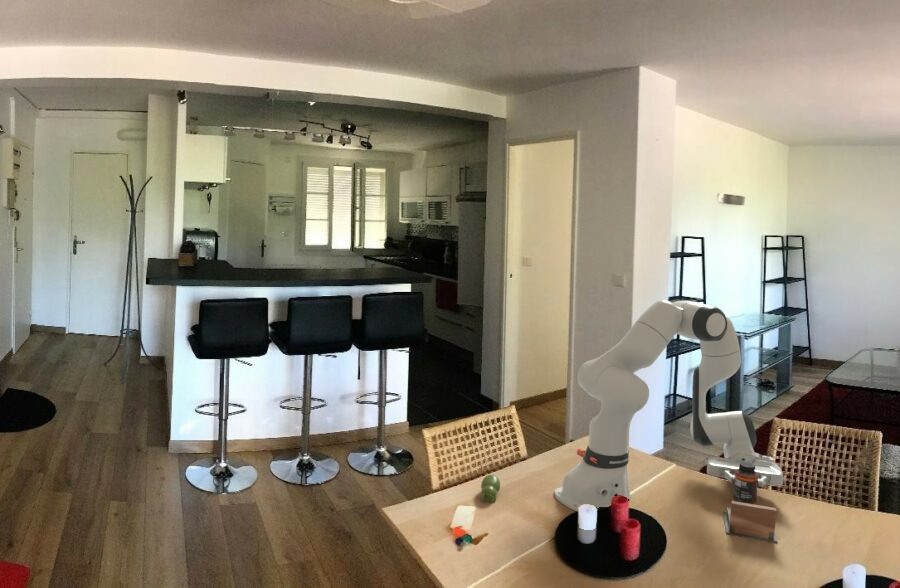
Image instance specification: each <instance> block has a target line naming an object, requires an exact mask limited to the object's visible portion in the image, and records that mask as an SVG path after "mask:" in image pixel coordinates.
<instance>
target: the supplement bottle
mask: <svg viewBox="0 0 900 588" xmlns="http://www.w3.org/2000/svg"><path fill="white" fill-rule="evenodd" d="M739 467H740V468H738V469H737V470H736V472H735V483H734V485H733V501H735V502H741V503H747V504H754V505H756V503H757V495H758V487H757V485H758V474H757V472H755V465H754V464H753V463H751V462H745V461H744V462H740V466H739Z"/></svg>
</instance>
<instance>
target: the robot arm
mask: <svg viewBox="0 0 900 588" xmlns="http://www.w3.org/2000/svg"><path fill="white" fill-rule="evenodd" d="M675 335H679V336H682V337H684V338H687V339H691V340H698V341H699V347H700V352H701V353H700V354H701V360H700V363H699V365H698V366H697V367H696V368H694V369H693V373H692V374H693V375H692V388H691V389H692V391H691V392H692V397H691V402H692V403H691V405H692V407H691V410H692V411H691V415H692V416H691V421H690V434H691V437H692V440H693V441H694V442H696V443H697V444H698V445H700V446H702V447H711V446H715V445H723V457H721V456H720V457H718V456H711V457H709V458H705V459H704V463H705V465H706V466H707V467H706V474H707V475H708V476H710V477H714V478H715V477H717V478H723V479H726V480H727V481H728V482H729V483H730V484H731V483H732V484H733V483H735V472H736V470H737V469H738V468H740V467H739V466H740V462H744V461H745V462H751V463H753V464H754V465H755V472H757V474H758V485H757V488H764V486H766V485H768V486H774V487H782V486H783V485H784V484H783V483H784V473H783V471H782V469H781V467H780V466H779V465H778V464H777V463H775V459H774V457H771V456H767V455H765V454H764V455H763V454H760V453H757V452H755V450H754V447H755V446H756V443H757V433H756V432H757V431H756V429H755V426H754V423H753V421H752V418H751V416H750V415H749V414H748V413H746V412H745V411H743V410H735V411H734V410H733V411H726V412H725V411H724V412H716V413H715V412H714V413H707V411H706V406H707V405H706V404H707V402H706V399H707V398H706V397H707V393H708V391H709V390H710V389H711V388H712V387H714V386H715V385H717V384H719V383H721V382H723V381H726V380H727V379H729V378H731V377H732V376H734V374H736V373H737V371H739V369H740V366H741V365H742V355H741V347H740V343H739V337H738V335H737V332H736V328H735V327H734V324H733V322H732V320H731V319H730V318H729V317H728V316H726V314H725V313H724V311H723V310H722V309H720V308H718V307H717V306H715V305H712V304H705V303H701V302H698V301H694V300H683V299H675V300H670V301H668V300H661V299H660V300H657V301H655V302H654V303H653V304H651V305H650V307H648V308H647V309H646V310H645V311H644V312H643V313H642V314H641V315H640V316H639V318H638V319H637V320H636V321H635V322H634V323H633V325H632V326H631V327H630V329H629V330H627V332H626V333H625V335H624V336H623V337H622V339H620V341H618V342H617V344H616V345H614V346H613V347H611V348H610V349H609V350H607V351H606V352H605V353H603V354H601V355H600V356H598V357H596V358H594V359H590V360H587V361H585V362H583V363H582V364H581V366H579V369H578V371H577V376H576V379H577V380H576V381H577V383H578V386H579V387H580V388H581V389H582V390H583V391H584V392H585V393H586V394H588V395H589V396H590V397H592V398H594V399H597V400H598V401H600V402H601V406H600V411H599V413H598V414H597V415H595V416H594V417H592V419H591V420H590V422H589V432H588V433H589V434H588V436H589V437H588V445H587V447H586V449H585V450H584V449H582V448H577V450H576V455H578V456H580V457H581V458H582V460H580V461H579V462H578V464H575V466H574V467H573V468H571V469H570V470H569V471H568V472H567V473H566V474H565V476H564V478H563V481H562V486H561V487H558V488H555V489H554V497H555V498H556V499H557V500H558V501H559V502H560V503H561V504H562V505H564V506H566V507H567V508H569V509H571V510H572V511H576V512H578V511H577V510H578V507H579V506H580V505H583V504H590V505H594V506H596V507H597V508H599V507H609V505H610V502H611V498H612V497H614V496H618V495H623V496H626V497H627V498H628V499H629V501H630V500H631V494H630V489H629V483H628V482H629V481H628V470H627V469H628V464H629V459H630V458H629V455H630V454H629V452H630V451H629V449H628V447H629V446H628V445H629V434H630V433H629V432H630V427H631V423H632V420H633V418H634V416H635V414H636V413H637V412H639V411H641V410H643V408H645V406H646V405H647V403H648V401H649V397H650V389H649V385H648V384H647V383H646V381H644V379H642V378H641V377H639V376H638V375H637V374H636V372H638V371H639V370H642V369H647V368H648V367H651V366H652V365H653V364H654V363H655V361H657V359H658V358H659V357H660V355H661V354H662V352H664V350H665V349H666V348H667V346H668V345H669V343H670V342H671V341H672V339H673V338H674V336H675Z"/></svg>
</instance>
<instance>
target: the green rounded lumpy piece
mask: <svg viewBox="0 0 900 588" xmlns="http://www.w3.org/2000/svg"><path fill="white" fill-rule="evenodd" d="M480 489H481V492H480V493H481V494H480V500H481V502H484V501H488V502H487V503H490V502H493V501H494V502H496V501H497V494H498V493H499V492H500V489H501V481H500V479H499V477H498V476H497V475H494V474H488V475H486V476H484V478H483V479H482V481H481V484H480ZM494 502H493V503H494Z"/></svg>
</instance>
